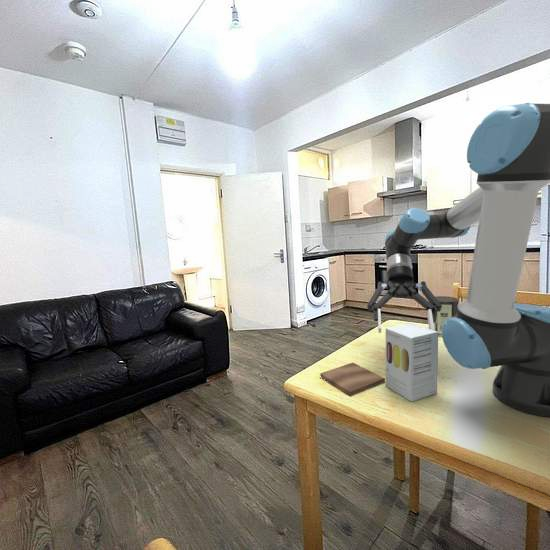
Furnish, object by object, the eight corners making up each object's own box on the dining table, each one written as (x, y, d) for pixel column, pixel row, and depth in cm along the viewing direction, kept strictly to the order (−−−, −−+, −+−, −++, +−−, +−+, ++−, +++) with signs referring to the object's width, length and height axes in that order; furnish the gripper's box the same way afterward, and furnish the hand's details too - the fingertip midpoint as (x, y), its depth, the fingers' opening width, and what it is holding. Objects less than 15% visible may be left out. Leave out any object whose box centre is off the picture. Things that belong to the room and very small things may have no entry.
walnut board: (385, 382, 85) (384, 378, 85) (350, 396, 79) (350, 391, 79) (353, 365, 97) (352, 362, 97) (320, 377, 91) (320, 373, 90)
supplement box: (384, 385, 83) (383, 327, 81) (409, 377, 87) (409, 321, 85) (411, 402, 75) (411, 337, 72) (438, 393, 78) (439, 331, 76)
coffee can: (449, 328, 126) (449, 295, 124) (464, 336, 116) (464, 300, 114) (424, 329, 126) (424, 296, 124) (437, 338, 116) (437, 302, 114)
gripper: (441, 277, 96) (452, 339, 83) (359, 278, 103) (359, 335, 91) (445, 262, 90) (458, 326, 78) (359, 265, 97) (358, 323, 85)
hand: (405, 331), depth 84 cm, fingers open, 13 cm apart
